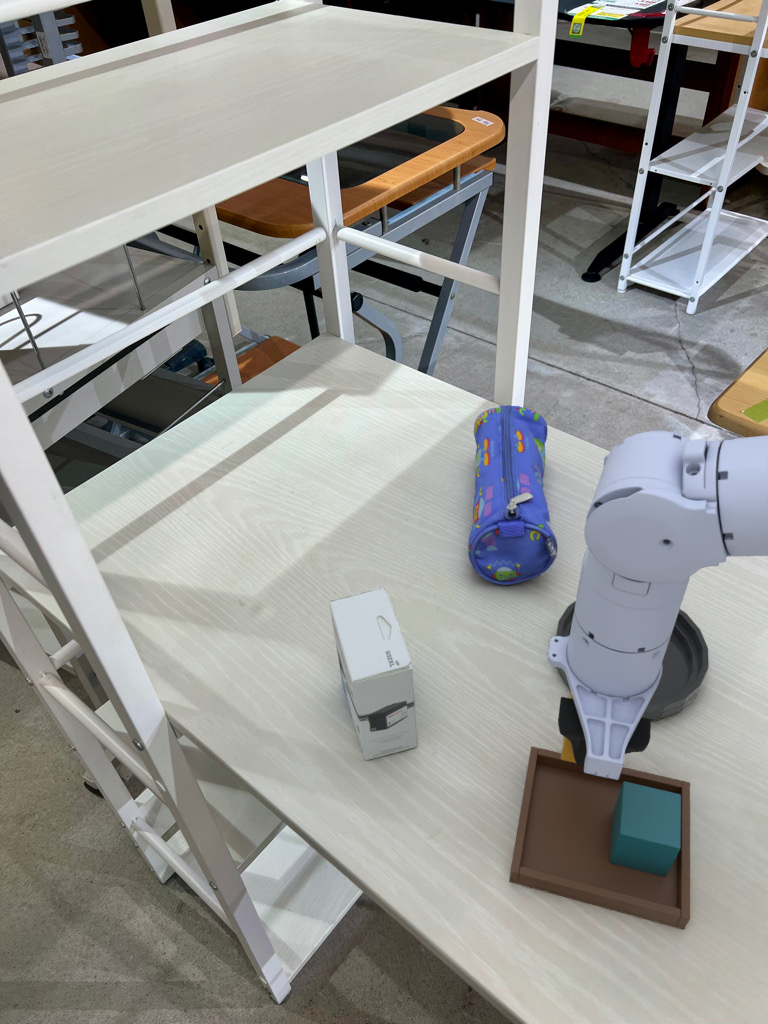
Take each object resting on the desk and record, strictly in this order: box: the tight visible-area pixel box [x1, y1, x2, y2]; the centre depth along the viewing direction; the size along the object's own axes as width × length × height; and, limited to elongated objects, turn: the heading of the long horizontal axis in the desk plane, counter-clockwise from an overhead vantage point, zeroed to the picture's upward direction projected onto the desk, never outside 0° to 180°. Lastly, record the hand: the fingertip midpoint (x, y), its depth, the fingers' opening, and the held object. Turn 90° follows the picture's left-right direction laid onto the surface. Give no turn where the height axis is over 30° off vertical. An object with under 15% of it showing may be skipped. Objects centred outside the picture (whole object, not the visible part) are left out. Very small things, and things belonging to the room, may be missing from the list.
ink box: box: [328, 586, 419, 761], centre depth 62 cm, size 8×5×12 cm, turn 15°
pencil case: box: [467, 404, 558, 586], centre depth 79 cm, size 22×9×10 cm, turn 174°
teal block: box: [609, 781, 681, 877], centre depth 54 cm, size 4×4×5 cm
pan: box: [555, 600, 710, 720], centre depth 67 cm, size 13×13×2 cm
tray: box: [508, 746, 691, 930], centre depth 56 cm, size 12×10×2 cm
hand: (593, 733), depth 54 cm, fingers closed on mustard block, 4 cm apart
